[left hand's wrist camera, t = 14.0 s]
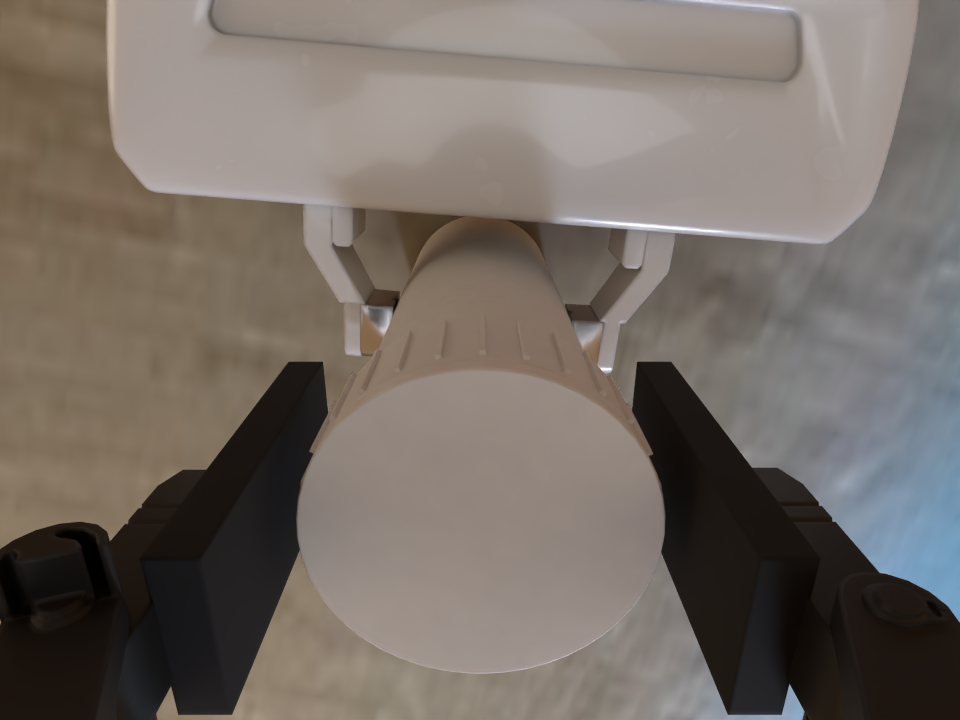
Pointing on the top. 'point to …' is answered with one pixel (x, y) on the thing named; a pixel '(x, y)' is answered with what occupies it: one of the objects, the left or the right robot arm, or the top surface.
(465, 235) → the jar
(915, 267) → the top surface
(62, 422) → the top surface
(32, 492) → the top surface
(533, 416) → the lid
